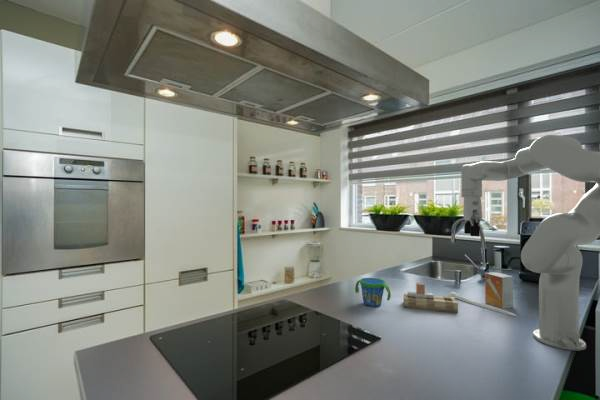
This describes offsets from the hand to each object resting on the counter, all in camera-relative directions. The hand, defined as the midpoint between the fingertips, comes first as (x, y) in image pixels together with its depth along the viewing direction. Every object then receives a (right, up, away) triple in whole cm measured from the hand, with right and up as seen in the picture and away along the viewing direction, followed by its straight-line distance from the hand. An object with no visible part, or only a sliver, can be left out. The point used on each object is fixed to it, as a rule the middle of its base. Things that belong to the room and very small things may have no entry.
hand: (471, 234), depth 124 cm
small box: (+13, -31, +3) cm, 34 cm away
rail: (-18, -30, 0) cm, 35 cm away
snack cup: (-41, -31, +3) cm, 51 cm away
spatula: (+5, -31, +3) cm, 32 cm away
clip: (-21, -29, +1) cm, 36 cm away
